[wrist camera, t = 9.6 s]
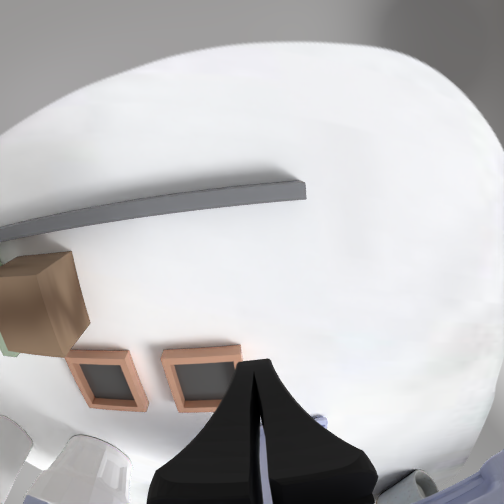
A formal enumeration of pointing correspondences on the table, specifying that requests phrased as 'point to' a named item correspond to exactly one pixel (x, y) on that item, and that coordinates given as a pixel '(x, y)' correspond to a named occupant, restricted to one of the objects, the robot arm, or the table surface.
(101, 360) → the trap pits
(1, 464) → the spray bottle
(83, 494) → the cup
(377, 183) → the table surface
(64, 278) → the walnut block
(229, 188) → the hook tool
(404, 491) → the ceramic mug
